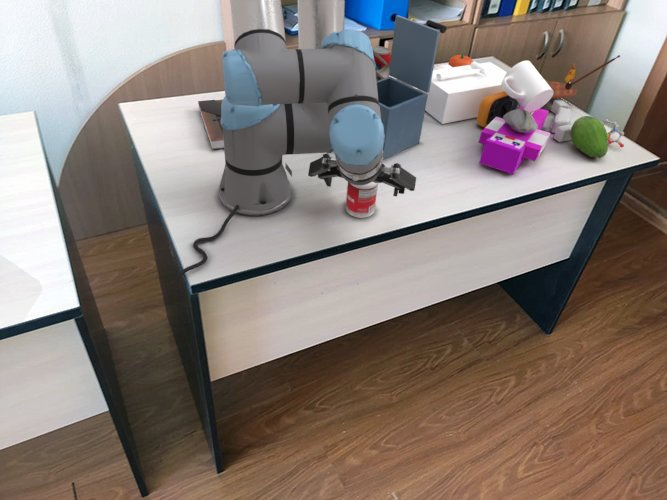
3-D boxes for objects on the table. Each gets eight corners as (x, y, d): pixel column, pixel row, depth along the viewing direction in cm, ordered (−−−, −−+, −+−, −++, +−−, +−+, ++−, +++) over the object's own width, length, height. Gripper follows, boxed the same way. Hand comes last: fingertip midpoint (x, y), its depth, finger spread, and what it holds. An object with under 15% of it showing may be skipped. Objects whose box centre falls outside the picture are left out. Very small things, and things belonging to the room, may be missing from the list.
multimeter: (480, 96, 140) (490, 101, 138) (523, 82, 148) (533, 86, 146) (473, 126, 145) (482, 131, 143) (515, 110, 154) (525, 115, 152)
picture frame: (198, 109, 143) (212, 150, 128) (197, 100, 141) (211, 140, 126) (259, 103, 147) (279, 142, 132) (259, 95, 146) (279, 133, 131)
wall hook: (343, 47, 139) (353, 33, 138) (402, 97, 162) (410, 85, 161) (354, 54, 136) (364, 40, 135) (412, 104, 159) (420, 92, 158)
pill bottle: (343, 201, 115) (347, 157, 108) (371, 201, 116) (377, 157, 108) (347, 219, 110) (351, 174, 103) (376, 218, 111) (382, 174, 104)
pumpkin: (475, 78, 170) (480, 54, 165) (458, 83, 166) (464, 59, 161) (457, 70, 174) (462, 47, 170) (440, 74, 170) (445, 51, 166)
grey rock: (539, 141, 126) (549, 121, 123) (506, 131, 126) (514, 110, 123) (529, 129, 136) (538, 110, 134) (498, 119, 136) (506, 100, 134)
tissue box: (513, 110, 154) (524, 73, 146) (442, 123, 145) (450, 85, 137) (482, 89, 163) (491, 54, 156) (413, 101, 154) (420, 64, 147)
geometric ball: (429, 77, 165) (428, 96, 161) (432, 57, 158) (431, 76, 154) (454, 79, 164) (454, 98, 160) (458, 58, 157) (458, 77, 154)
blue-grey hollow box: (382, 160, 129) (389, 109, 120) (346, 139, 136) (350, 89, 127) (419, 143, 136) (428, 94, 127) (383, 124, 143) (389, 76, 134)
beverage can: (360, 86, 160) (364, 46, 152) (380, 83, 162) (384, 44, 155) (370, 96, 156) (375, 55, 148) (390, 93, 158) (396, 52, 150)
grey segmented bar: (553, 141, 141) (579, 146, 140) (558, 129, 138) (584, 133, 138) (544, 108, 156) (568, 112, 155) (549, 96, 153) (573, 100, 153)
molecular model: (593, 117, 139) (594, 143, 138) (626, 117, 138) (627, 143, 136) (584, 129, 146) (585, 155, 145) (615, 130, 145) (617, 155, 143)
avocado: (575, 111, 133) (599, 150, 129) (600, 107, 135) (624, 145, 131) (558, 131, 140) (580, 169, 136) (581, 127, 142) (604, 163, 138)
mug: (528, 90, 129) (505, 60, 133) (508, 114, 135) (487, 85, 139) (559, 88, 135) (536, 60, 139) (538, 111, 141) (517, 83, 145)
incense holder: (505, 79, 172) (511, 43, 167) (607, 87, 163) (617, 49, 158) (499, 94, 155) (506, 54, 149) (612, 104, 146) (623, 61, 140)
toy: (562, 114, 142) (533, 155, 121) (554, 135, 146) (525, 178, 125) (509, 99, 147) (473, 136, 126) (503, 119, 151) (467, 158, 130)
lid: (437, 31, 117) (461, 23, 122) (395, 15, 124) (419, 8, 129) (427, 92, 127) (449, 83, 131) (388, 75, 134) (411, 66, 138)
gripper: (281, 170, 88) (299, 194, 109) (432, 191, 86) (421, 212, 107) (288, 126, 88) (305, 158, 109) (439, 146, 86) (426, 175, 107)
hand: (362, 184), depth 108 cm, fingers open, 13 cm apart
